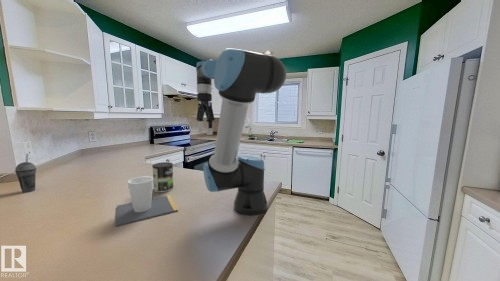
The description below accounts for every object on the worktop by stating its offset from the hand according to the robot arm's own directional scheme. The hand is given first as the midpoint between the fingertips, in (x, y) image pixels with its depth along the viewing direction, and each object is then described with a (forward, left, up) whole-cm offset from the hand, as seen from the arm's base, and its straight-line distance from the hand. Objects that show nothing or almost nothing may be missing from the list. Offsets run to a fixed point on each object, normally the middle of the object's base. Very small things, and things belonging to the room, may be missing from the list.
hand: (205, 133), depth 102 cm
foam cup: (-8, +31, -31) cm, 45 cm away
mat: (-8, +30, -31) cm, 44 cm away
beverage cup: (+46, +81, -32) cm, 98 cm away
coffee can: (+13, +20, -32) cm, 40 cm away
